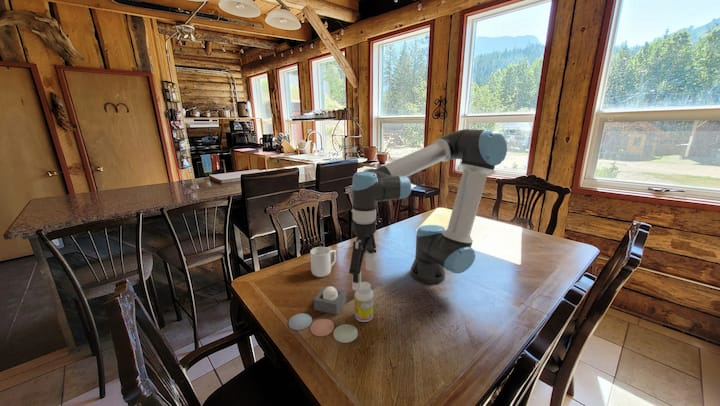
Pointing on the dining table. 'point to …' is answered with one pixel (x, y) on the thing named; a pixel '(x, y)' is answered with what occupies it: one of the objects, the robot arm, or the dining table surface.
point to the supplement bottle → (364, 303)
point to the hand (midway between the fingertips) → (363, 279)
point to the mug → (321, 261)
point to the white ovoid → (330, 293)
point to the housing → (330, 302)
